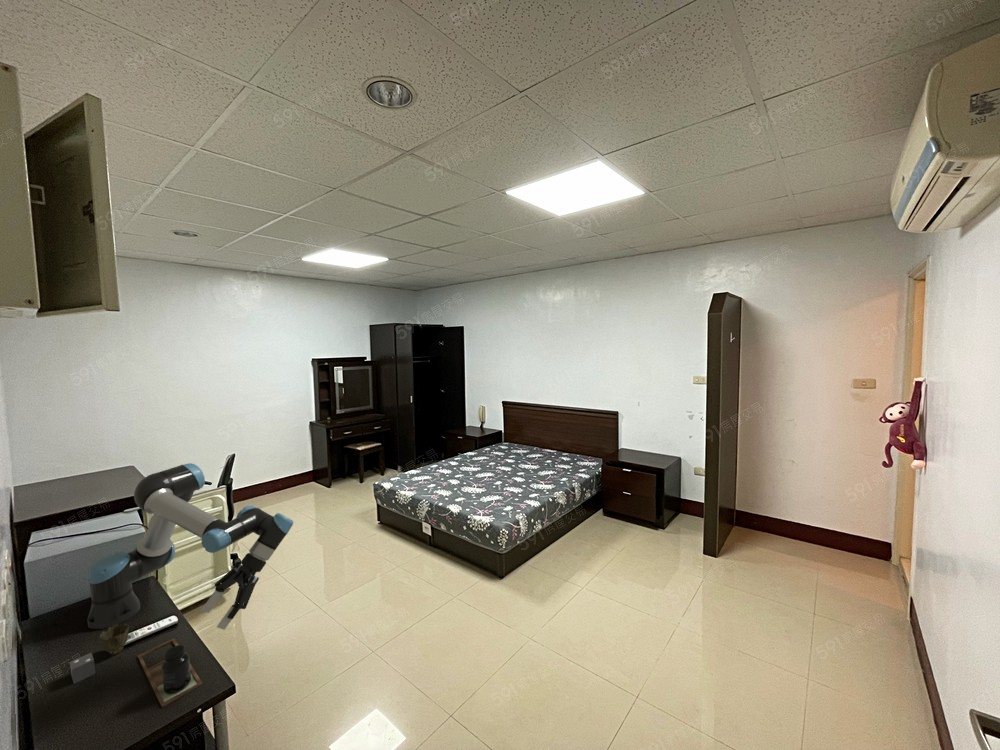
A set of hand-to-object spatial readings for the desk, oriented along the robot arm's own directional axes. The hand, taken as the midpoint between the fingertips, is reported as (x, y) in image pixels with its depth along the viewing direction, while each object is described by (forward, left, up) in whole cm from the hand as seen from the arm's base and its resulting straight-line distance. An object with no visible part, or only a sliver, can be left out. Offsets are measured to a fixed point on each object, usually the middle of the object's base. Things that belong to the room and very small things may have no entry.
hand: (212, 619), depth 135 cm
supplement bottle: (+5, -9, -16) cm, 19 cm away
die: (-13, -39, -16) cm, 44 cm away
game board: (-4, -14, -16) cm, 22 cm away
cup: (-21, -33, -16) cm, 43 cm away
